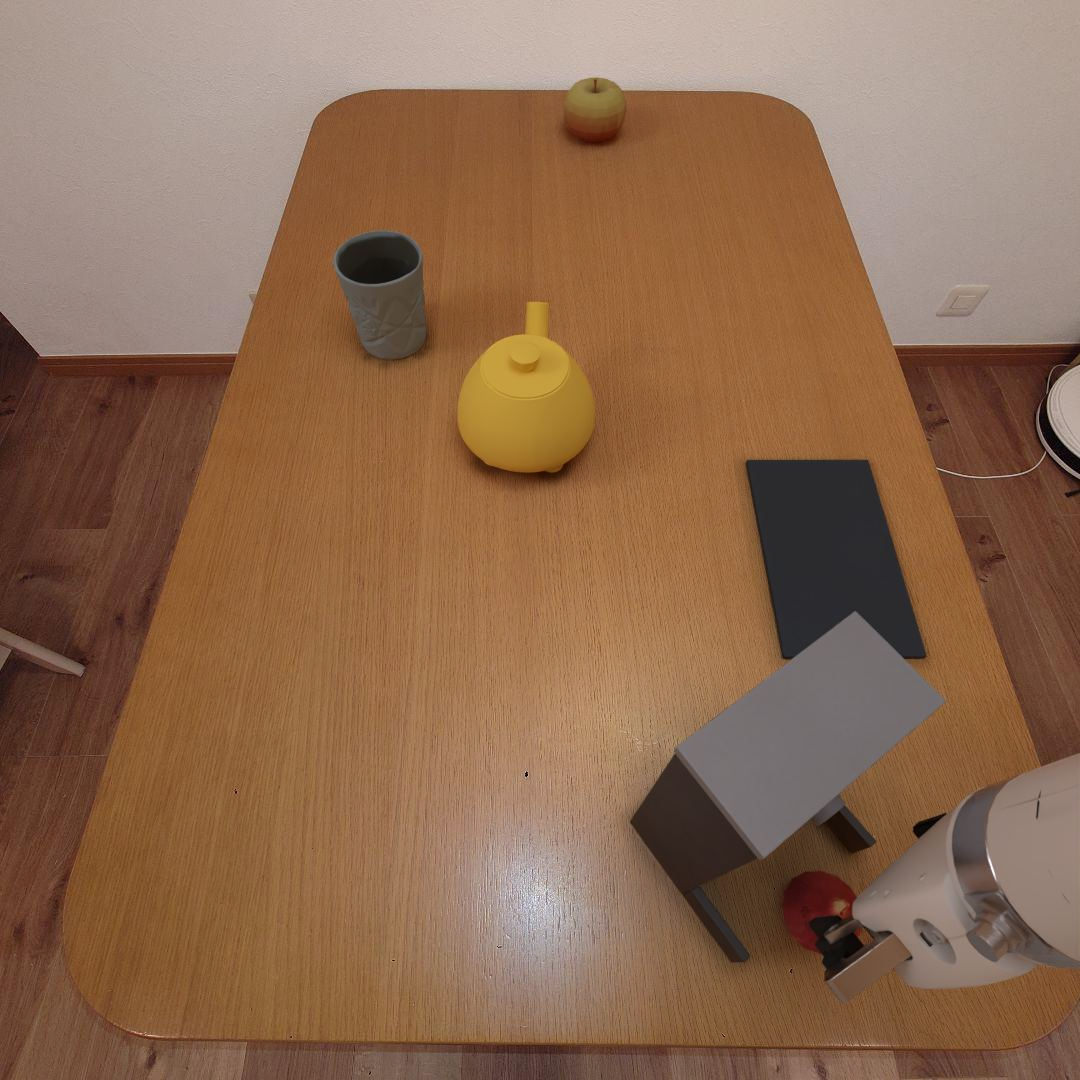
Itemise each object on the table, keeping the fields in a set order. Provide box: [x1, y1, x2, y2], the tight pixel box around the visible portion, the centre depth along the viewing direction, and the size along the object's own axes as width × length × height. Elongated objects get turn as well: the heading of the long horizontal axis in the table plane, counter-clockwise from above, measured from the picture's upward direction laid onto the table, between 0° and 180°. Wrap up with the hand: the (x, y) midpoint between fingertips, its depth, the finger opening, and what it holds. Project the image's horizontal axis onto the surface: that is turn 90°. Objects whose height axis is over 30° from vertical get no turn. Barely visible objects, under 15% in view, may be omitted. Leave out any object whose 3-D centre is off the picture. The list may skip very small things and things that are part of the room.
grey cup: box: [332, 229, 428, 361], centre depth 88 cm, size 10×10×12 cm
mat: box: [745, 459, 927, 660], centre depth 76 cm, size 24×14×1 cm, turn 0°
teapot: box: [456, 301, 596, 474], centre depth 79 cm, size 20×16×14 cm
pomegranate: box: [780, 870, 863, 956], centre depth 55 cm, size 6×6×8 cm
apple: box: [563, 76, 627, 143], centre depth 113 cm, size 10×10×8 cm
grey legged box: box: [629, 611, 947, 964], centre depth 51 cm, size 13×15×25 cm
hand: (881, 893), depth 46 cm, fingers open, 9 cm apart
